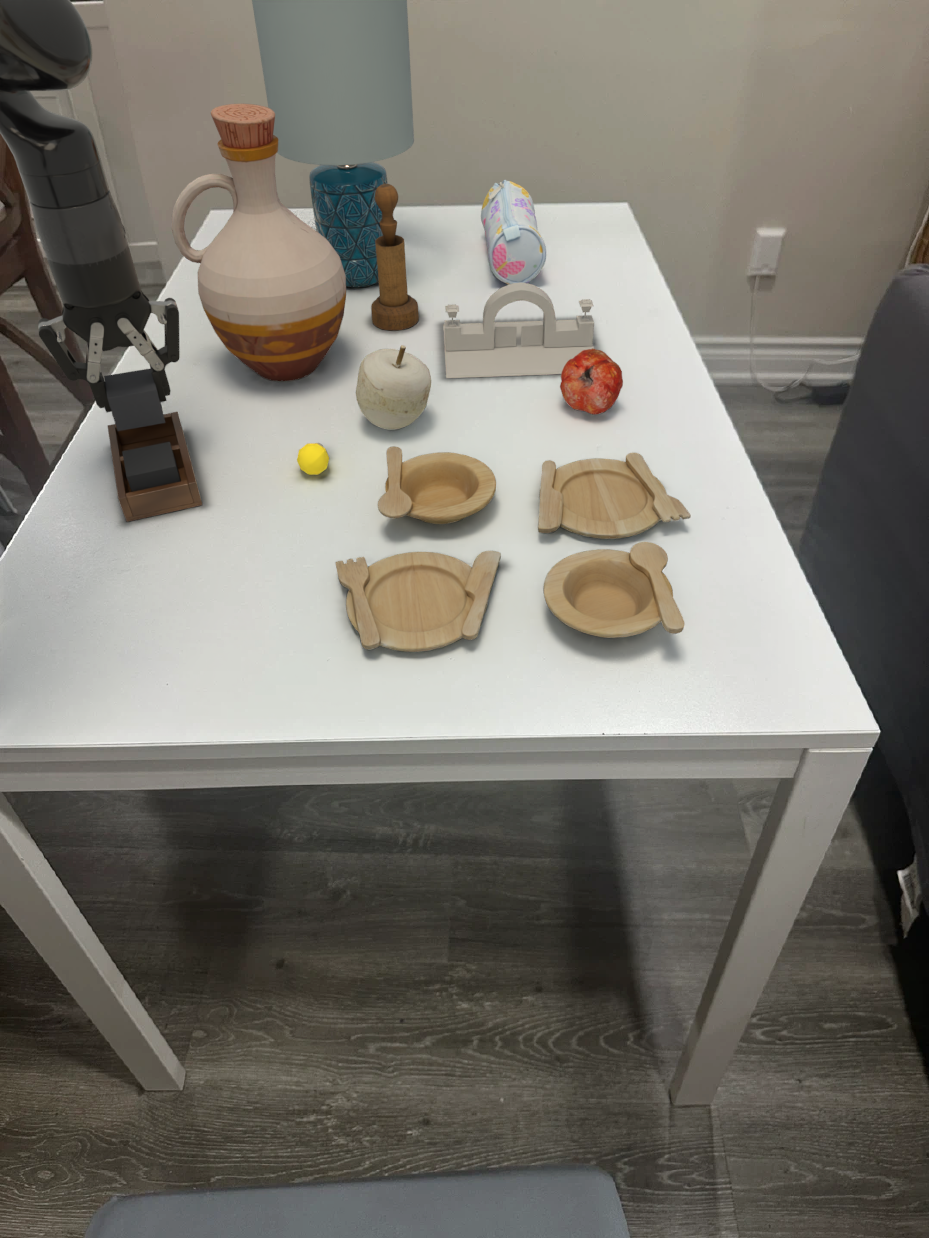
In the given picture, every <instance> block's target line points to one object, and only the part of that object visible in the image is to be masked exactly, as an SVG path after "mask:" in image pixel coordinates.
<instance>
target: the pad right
mask: <svg viewBox="0 0 929 1238" xmlns="http://www.w3.org/2000/svg"><path fill="white" fill-rule="evenodd" d="M103 378H104V381H105V386H106V392H107V399H108V402H109V405H110V408H111V411H112V412H111V414H112V419H113V421H114V424H116V427H117V431H122V430H128V429H133V428H139V427H145V426H150V425H156V424H162V423H165V419H164V414H165V413H164V410H163V406H162V402H160V400H159V396H158V392H157V388H156V385H155V383H154V380H153V376H152V373H151V369H150V368H146V369H145V368H144V369H139V370H133V371H127V372H120V373H114V374H108V375H103Z"/></svg>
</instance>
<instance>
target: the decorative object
mask: <svg viewBox="0 0 929 1238" xmlns="http://www.w3.org/2000/svg"><path fill="white" fill-rule="evenodd" d="M406 349H407V346H406V345H404V344H401V345H400V347H399V349H395V348H380V349H378V350H375V351H372V352H370V353H369V354H367V355H366V356H365V357H363V359H362V360H361V363H360V365H359V368H358V373H357V381H356V387H355V397H356V402H357V405H358V408H359V410H360V412H361V414H362V415H363V416H364V417H365V418H366V420H368V422H369V423H371V424H372V425H374V426H375V427H378V428H380V429H383V430H389V431H390V430H391V431H393V430H400V429H403V428H405V427H406V428H407V427H408V426H410V425H412V424H413V423H414V422H415V421H416V420H417V419H419V417H420V416H421V415H422V414H423V412H424V411H425V409H426V407H427V404H428V402H429V396H430V392H431V388H432V375H431V372H430V368H429V367H428V365H426V364H425V363H424V361H422V360H421V359H419V358H418V357H417V356H415V355H413V354H411V353H409V352H407V351H406Z"/></svg>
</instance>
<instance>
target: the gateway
mask: <svg viewBox="0 0 929 1238" xmlns="http://www.w3.org/2000/svg"><path fill="white" fill-rule="evenodd" d="M520 301H523V302H528V303H531V304H533V305H535V306H537V307H538V308H539V309H540V310H541V311H542V313H543V315H542V320H541V321H542V324H534V325H522V326H521V327H520V346H521V347H531V346H543V347H544V348H572V347H592V346H593V347H594V343H593V341H594V332H595V322H594V318H593V315H592V314H587V313H590V312H591V309H592V307H594V302H593V300H591V298H587V299H586V298H582V299H581V300H578V304H579V307H580V308H581V311H582V313H584V315H576V317H575V319H572V320H573V321H571V322H557V320H558V319H557V318H556V311H555V307H554V304H553V302H552V299H551V297H550V296H549V294H548V293H546V291H544V290H543V289H542V288H541V287H538V286H537V285H534V284H531V283H529V282H528V283H520V282H519V283H513V284H506V285H504V286H502V287H500V288H499V289H497V290H495V291H494V292H493V293H492V294H491V295H490V296H489V297H488V299H487V301H486V302H485V304H484V307H483V312H482V322H481V323H482V325H464V324H465V323H461V320H460V319H454V318H457V314H458V312H460V306H459V305H457V304H455V303H454V304H447V305H445V306H444V307H445V308H444V310H445V313H447V315H448V318H449V319H447V320H446V319H445V320H444V324H442V326H443V327H442V329H443V347H444V348H443V349H444V352H445V351H446V352H461V351H486V350H494V349H495V348H508V347H516V346H517V330H518V326H517V325H505V326H495V321H496V317H497V315H498V313H499V312H500V311H501V310H502V309H503V308H504V307H506V306H508V305H509V304H512V303H515V302H520ZM450 318H451V319H450Z"/></svg>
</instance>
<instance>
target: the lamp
mask: <svg viewBox="0 0 929 1238" xmlns="http://www.w3.org/2000/svg"><path fill="white" fill-rule="evenodd" d="M251 3H252V11H253V18H254V23H255V29H256V35H257V42H258V48H259V57H260V62H261V69H262V75H263V82H264V88H265V94H266V101H267V108H270V109H271V110H273V111H274V113H275V121H274V131H273V135H274V136H276V137H277V138H278V152H277V153H276V154H278V155H279V156H280V157H283V158H284V159H287V160H290V161H293V162H295V163H302V164H306V165H315V167H314V168H313V169H311V171H310V172H309V176H308V177H309V179H308V180H309V190H310V196H311V198H310V199H311V204H312V205H311V206H312V213H313V220H314V226H315V230H316V231H317V232H318V233H319V234H321V235H322V236H323V237H324V238H325V239H327V241H328V242H329V243H330V244H331V246H332V247H333V248H334V250H335V251H336V253H337V254H338V255H339V257H340V260H341V263H342V266H343V269H344V272H345V276H346V288H365V287H369V286H374V285H377V284H379V280H378V267H377V255H376V245H375V241H376V239H377V238H379V237H381V236H383V234H382V231H381V228H380V221H381V220H382V212H381V210H380V209H379V207H378V205H377V204H376V201H375V191H376V189H377V188H378V187H379V186H380V185H382V184H389V183H388V174H387V170H386V168H385V167H384V166H383V165H381V164H380V163H377V162H379V161H383V160H387V159H390V158H391V159H392V158H394V157H396V156H399V155H402V154H403V153H405V152H406V151H408V150H409V149H410V148H412V146H413V145H414V144H415V143H414V142H415V131H414V112H413V96H412V95H413V93H412V92H413V90H412V74H411V57H410V56H411V54H410V31H409V13H408V0H251ZM316 165H317V166H316Z"/></svg>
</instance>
